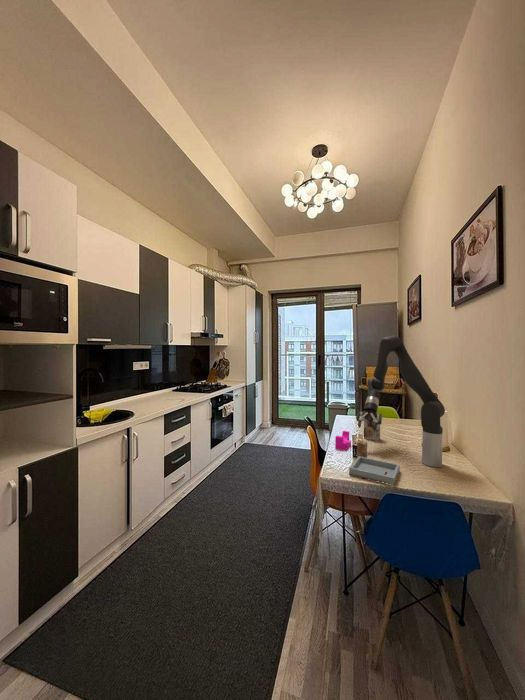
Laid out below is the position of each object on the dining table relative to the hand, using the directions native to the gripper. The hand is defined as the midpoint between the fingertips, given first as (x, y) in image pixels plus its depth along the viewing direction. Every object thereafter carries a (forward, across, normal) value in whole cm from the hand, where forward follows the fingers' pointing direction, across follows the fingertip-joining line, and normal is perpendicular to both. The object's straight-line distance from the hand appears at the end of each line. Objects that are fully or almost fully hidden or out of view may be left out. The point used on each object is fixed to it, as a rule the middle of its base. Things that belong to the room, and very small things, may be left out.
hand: (366, 428), depth 170 cm
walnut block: (+18, 0, +2) cm, 18 cm away
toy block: (+8, -14, +13) cm, 21 cm away
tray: (+29, +10, -9) cm, 32 cm away
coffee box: (-10, -3, +30) cm, 32 cm away
